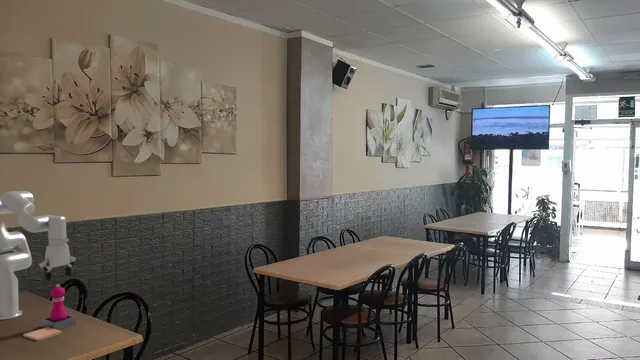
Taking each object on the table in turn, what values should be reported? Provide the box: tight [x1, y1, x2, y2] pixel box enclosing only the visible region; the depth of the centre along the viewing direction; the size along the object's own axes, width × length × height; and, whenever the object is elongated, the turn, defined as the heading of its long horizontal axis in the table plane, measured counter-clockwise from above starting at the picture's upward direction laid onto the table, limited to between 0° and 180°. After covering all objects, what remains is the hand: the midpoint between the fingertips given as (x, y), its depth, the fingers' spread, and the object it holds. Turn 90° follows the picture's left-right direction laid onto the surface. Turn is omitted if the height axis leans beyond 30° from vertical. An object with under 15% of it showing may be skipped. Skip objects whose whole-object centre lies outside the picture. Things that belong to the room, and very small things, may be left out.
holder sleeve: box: [40, 314, 77, 330], centre depth 229 cm, size 11×11×4 cm
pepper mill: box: [49, 283, 68, 322], centre depth 229 cm, size 7×7×20 cm
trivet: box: [23, 327, 63, 342], centre depth 217 cm, size 11×11×1 cm
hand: (58, 278), depth 229 cm, fingers open, 9 cm apart
